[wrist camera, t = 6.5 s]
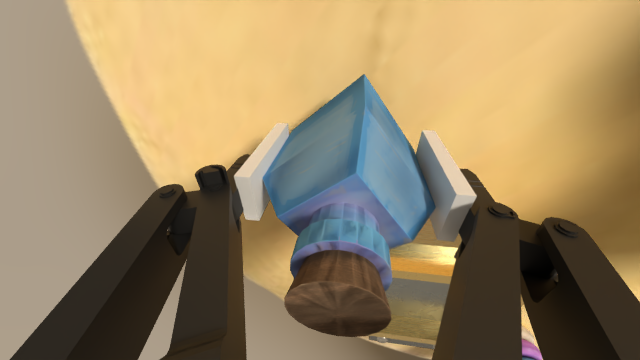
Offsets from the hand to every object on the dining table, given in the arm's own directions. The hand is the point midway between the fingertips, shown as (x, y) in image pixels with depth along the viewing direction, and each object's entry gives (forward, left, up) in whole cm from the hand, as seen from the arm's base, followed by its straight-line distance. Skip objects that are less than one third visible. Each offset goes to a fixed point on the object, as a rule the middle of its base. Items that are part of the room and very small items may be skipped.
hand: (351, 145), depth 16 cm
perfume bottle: (0, 0, -1) cm, 1 cm away
